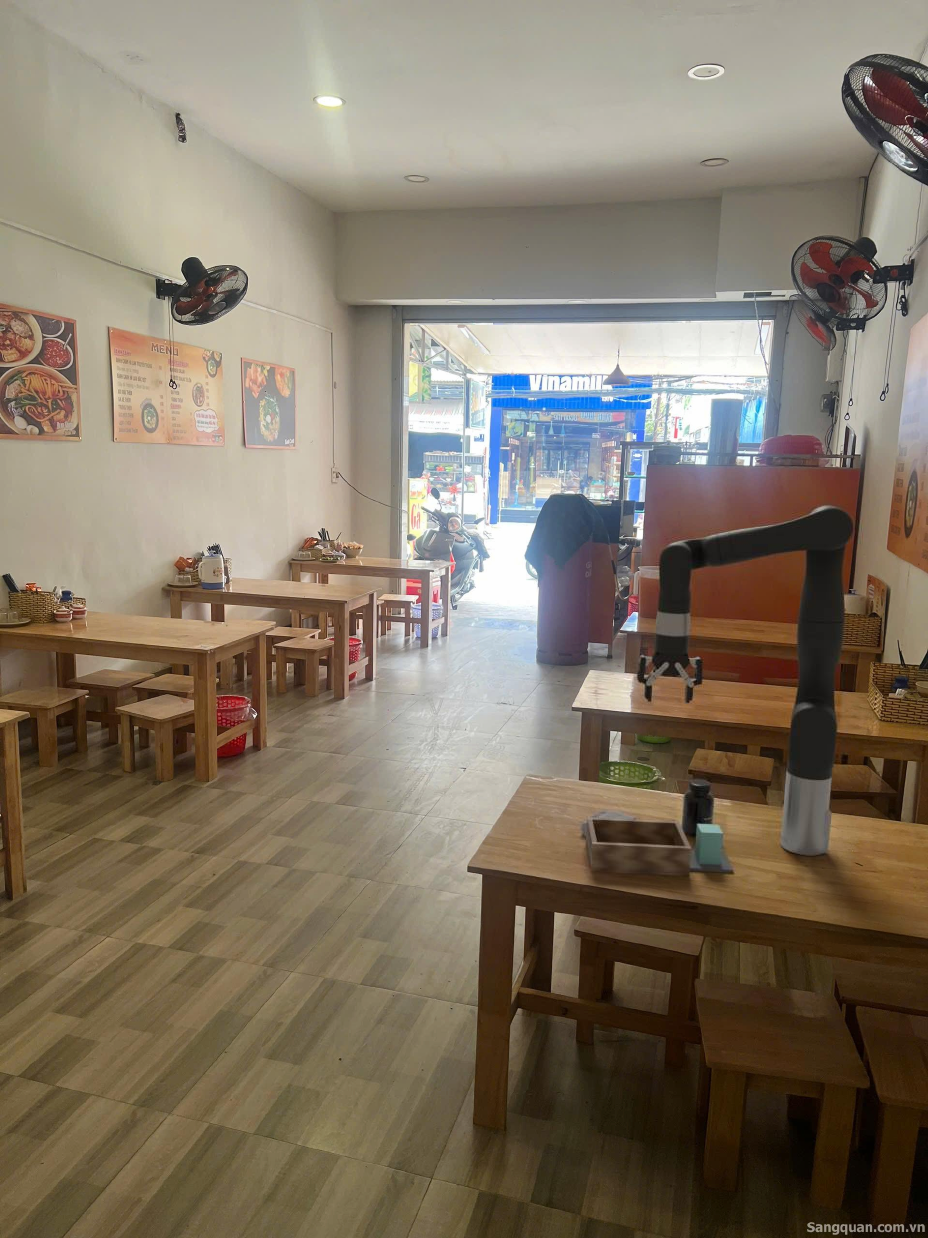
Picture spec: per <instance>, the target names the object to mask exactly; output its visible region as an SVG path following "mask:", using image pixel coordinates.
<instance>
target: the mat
mask: <svg viewBox="0 0 928 1238" xmlns="http://www.w3.org/2000/svg"><path fill="white" fill-rule="evenodd" d="M690 872H706V873H708V872H709V873H710V872H711V873H731V874H734V872H735V871H734V868H733V866H732V864H731V863H730V861H729V859H728V857H727V855H726V853H725V851H722V856H721V865H713V864H699V862H698V860H697V858H696V856H695V849H691V859H690Z"/></svg>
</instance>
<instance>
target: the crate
mask: <svg viewBox="0 0 928 1238" xmlns="http://www.w3.org/2000/svg"><path fill="white" fill-rule="evenodd" d="M586 821H587V833H586V836H585V837H586V838H585V839H586V840H585V845H586V849H587V851H586V852H587V857H588V861H589V868H590V872H595V873H596V872H598V873H613V874H615V873H617V874H618V873H619V874H639V875H640V874H641V875H657V876H658V875H661V876H679V877H680V876H682V877H689V876H690V872H691V871H690V859H691V850H692V847H691V844H690V843H689V841H688V839H687V836H686V834H685V833H684V832H683V829H682V824H681V823H680V821H676V820H675V821H673V820H656V819H655V820H650V819H636V820H634V819H611V818H590V817H587V819H586Z"/></svg>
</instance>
